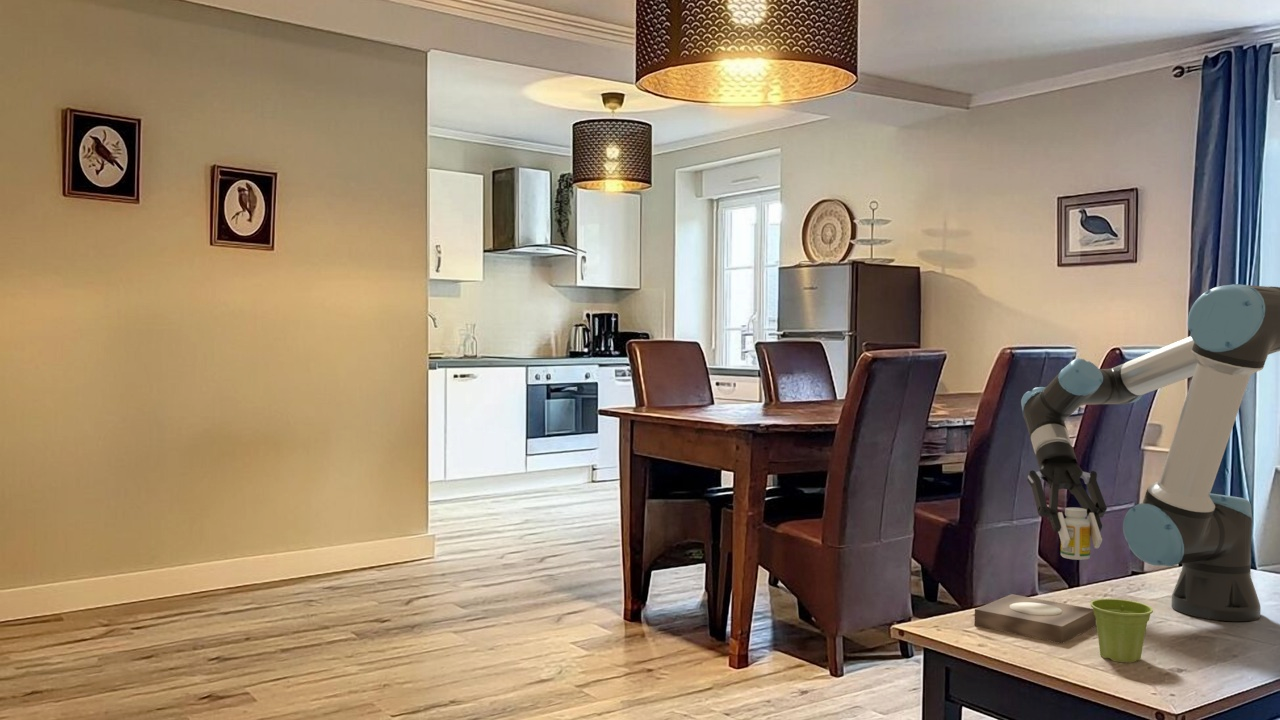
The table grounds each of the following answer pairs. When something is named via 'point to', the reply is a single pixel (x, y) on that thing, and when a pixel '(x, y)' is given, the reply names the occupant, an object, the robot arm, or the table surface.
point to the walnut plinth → (1035, 618)
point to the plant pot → (1121, 628)
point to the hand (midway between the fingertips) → (1082, 543)
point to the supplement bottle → (1077, 534)
